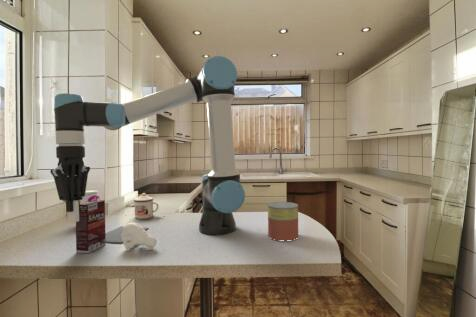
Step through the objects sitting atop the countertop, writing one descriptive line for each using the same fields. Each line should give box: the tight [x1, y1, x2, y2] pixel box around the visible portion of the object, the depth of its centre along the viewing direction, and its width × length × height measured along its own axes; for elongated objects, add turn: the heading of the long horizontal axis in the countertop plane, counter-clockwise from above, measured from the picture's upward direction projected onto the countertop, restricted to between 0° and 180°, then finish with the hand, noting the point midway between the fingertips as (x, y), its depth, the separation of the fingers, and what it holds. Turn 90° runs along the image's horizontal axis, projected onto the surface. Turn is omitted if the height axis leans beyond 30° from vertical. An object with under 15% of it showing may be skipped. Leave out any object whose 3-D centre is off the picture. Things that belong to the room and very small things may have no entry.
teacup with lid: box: [133, 192, 160, 220], centre depth 134 cm, size 12×9×12 cm
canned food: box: [267, 201, 299, 241], centre depth 100 cm, size 11×11×12 cm
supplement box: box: [75, 199, 107, 254], centre depth 91 cm, size 9×5×16 cm, turn 168°
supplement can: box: [80, 189, 101, 203], centre depth 122 cm, size 8×8×15 cm
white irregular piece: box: [121, 222, 157, 252], centre depth 90 cm, size 6×8×12 cm
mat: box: [105, 225, 149, 245], centre depth 105 cm, size 13×18×1 cm
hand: (73, 221), depth 83 cm, fingers closed
